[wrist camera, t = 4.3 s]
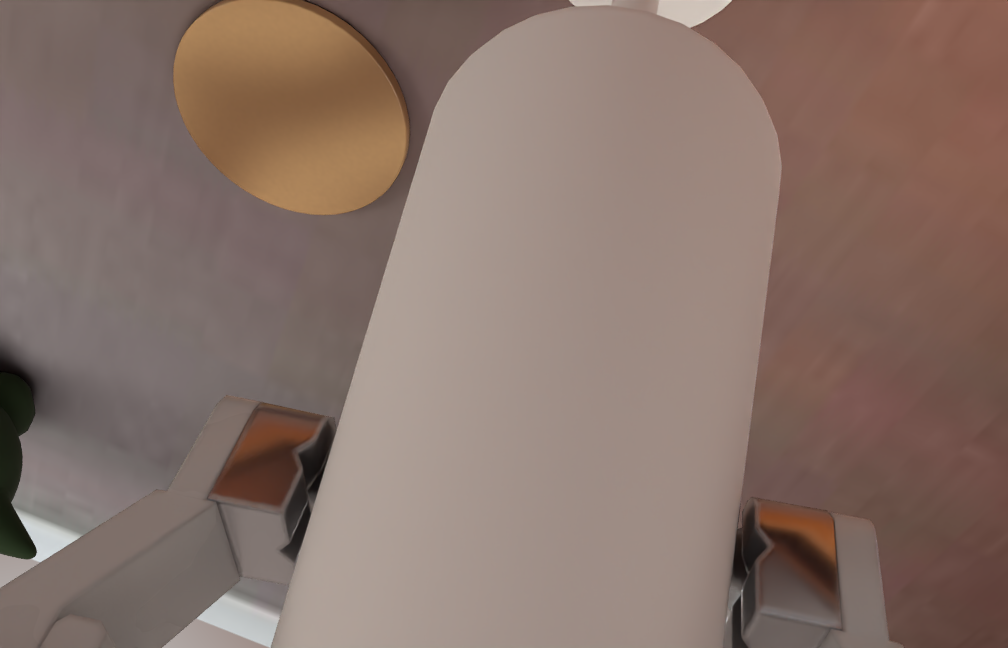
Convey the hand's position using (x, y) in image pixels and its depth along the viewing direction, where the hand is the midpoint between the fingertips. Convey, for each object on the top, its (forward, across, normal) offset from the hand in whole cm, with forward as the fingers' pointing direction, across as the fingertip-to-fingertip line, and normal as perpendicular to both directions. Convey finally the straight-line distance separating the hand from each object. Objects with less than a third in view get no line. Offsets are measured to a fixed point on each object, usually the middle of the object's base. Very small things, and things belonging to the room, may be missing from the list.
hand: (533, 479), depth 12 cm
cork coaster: (+20, +12, +8) cm, 25 cm away
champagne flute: (+20, 0, 0) cm, 20 cm away
